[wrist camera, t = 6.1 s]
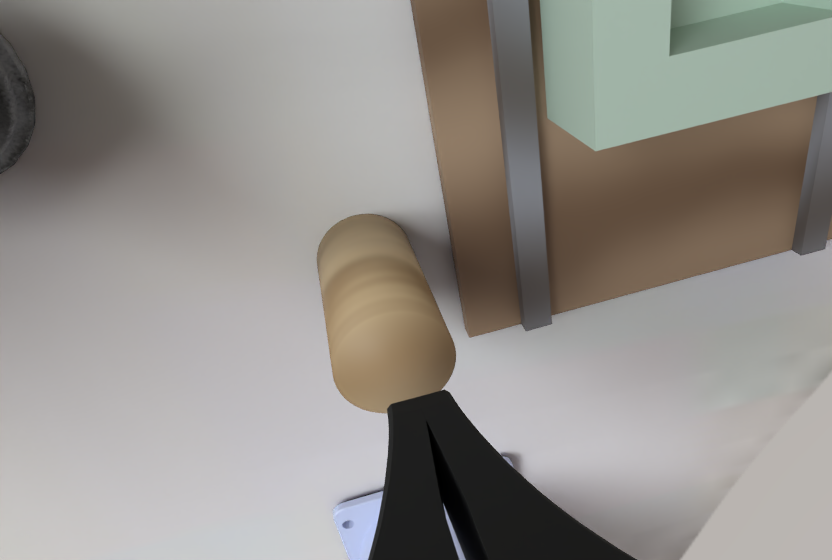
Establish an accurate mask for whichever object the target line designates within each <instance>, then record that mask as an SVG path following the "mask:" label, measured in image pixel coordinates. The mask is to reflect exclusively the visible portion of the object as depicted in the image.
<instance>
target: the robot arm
mask: <svg viewBox="0 0 832 560" xmlns="http://www.w3.org/2000/svg"><path fill="white" fill-rule="evenodd" d="M387 413H388V421H389V446H388V459H387V468H386V477H385V485H384V491H381V492H377V493H374V494H371V495H367V496H364V497H360V498H357V499H354V500H350V501H347V502H343V503H341V504H338V505H337V506H336V507H335V508H334V510H333V516H334V521H335V524H336V526H337V529H338V531H339V534H340V537H341V539H342V542H343V544H344V547H345V550H346V552H347V555H348V557H349V560H637V559H635V558H633V557H631V556H630V555H628V554H626V553H625V552H623V551H621V550H620V549H618V548H617V547H615V546H614V545H612V544H611V543H609V542H608V541H606V540H605V539H603V538H602V537H600V536H599V535H597V534H596V533H594V532H593V531H591V530H590V529H588V528H587V527H585V526H584V525H582V524H581V523H579V522H578V521H577V520H575V519H574V518H573V517H571V516H570V515H569V514H567V513H566V512H565V511H563V510H562V509H561V508H559V507H558V506H557V505H555V504H554V503H553V502H552V501H551V500H549V499H548V498H547V497H546V496H544V495H543V494H542V493H541V492H540V491H538V490H537V489H536V488H535V487H534V486H533V485H532V484H530V483H529V482H528V481H527V480H526V479H525V478H524V477H523V476H522V475H521V474H519V473H518V472H517V471H516V470H515V469H514V467H513V465H512V462H511V460H510V459H509V458H508V457H504V456H503V457H502V456H501V455H500V454H499V453H498V452H497V451H496V450H495V449H494V448H493V447H492V445H491V444H490V443H489V442H488V441H487V440H486V439H485V438H484V437H483V436H482V435H481V433H480V432H479V431H478V430H477V429H476V428H475V426H474V425H473V424H472V423H471V422H470V420H469V419H468V418H467V417H466V415H465V414H464V413H463V411H462V410H461V409H460V407H459V406H458V405H457V403H456V402H455V400H454V399H453V397H452V395H451V394H450V392H448V391H446V390H442V391H438V392H434V393H430V394H426V395H423V396H419V397H415V398H411V399H408V400H404V401H400V402H396V403H393V404H391V405H390V406H389V407H388V408H387ZM348 520H350V521H348Z"/></svg>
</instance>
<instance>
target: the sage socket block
mask: <svg viewBox="0 0 832 560" xmlns="http://www.w3.org/2000/svg"><path fill="white" fill-rule="evenodd" d="M540 12H541V28H542V43H543V59H544V75H545V90H546V106H547V118H548V119H549V120H551V121H552V122H554V123H555V124H557V125H558V126H559V127H561V128H562V129H564V130H565V131H567V132H568V133H570V134H571V135H573V136H574V137H575V138H577V139H578V140H580V141H581V142H583V143H584V144H586V145H587V146H589V147H590V148H591V149H593V150H594V151H599V150H603V149H607V148H611V147H615V146H619V145H623V144H627V143H631V142H635V141H639V140H643V139H647V138H650V137H654V136H658V135H662V134H666V133H670V132H674V131H678V130H682V129H686V128H690V127H694V126H698V125H702V124H706V123H710V122H714V121H718V120H722V119H726V118H730V117H734V116H738V115H742V114H746V113H750V112H754V111H758V110H762V109H766V108H770V107H774V106H778V105H782V104H786V103H790V102H794V101H798V100H802V99H806V98H810V97H814V96H818V95H822V94H825V93H829V92H832V0H540Z"/></svg>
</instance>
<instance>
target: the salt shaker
mask: <svg viewBox="0 0 832 560" xmlns="http://www.w3.org/2000/svg"><path fill="white" fill-rule="evenodd" d="M34 124H35V101H34V94H33V91H32V88H31V85H30V82H29V79H28V75H27V72H26V70H25V68H24V66H23V65H22V63H21V61H20V60H19V58H18V56H17V55H16V53H15V52H14V50H13V48H12V47H11V45H10V43H9V42H8V41H7V40H6V39H5V38H4V37H3V36H2V35H1V34H0V174H1V173H2V172H4V171H5V170H6V169H8V168H9V167H11V166H12V165H14V164H15V162H16V161H17V160H18V158H19V157H20V156H21V154H22V153H23V152H24V150H25V149H26V147H27V146H28V144H29V141H30V138H31V134H32V131H33V128H34Z"/></svg>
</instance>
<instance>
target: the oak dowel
mask: <svg viewBox="0 0 832 560" xmlns="http://www.w3.org/2000/svg"><path fill="white" fill-rule="evenodd" d="M317 265H318V272H319V280H320V287H321V294H322V301H323V308H324V315H325V322H326V329H327V336H328V344H329V351H330V358H331V365H332V372H333V378H334V382H335V384H336V387H337V389H338V390H339V392H340V393H341V394H342V396H343V397H344V398H345V399H346V400H348V401H349V402H350V403H352V404H353V405H355V406H357V407H359V408H361V409H364V410H367V411H371V412H376V413H387V408H388V407H389V406H390V405H391V404H393V403H396V402H400V401H404V400H408V399H411V398H415V397H419V396H423V395H426V394H430V393H434V392H438V391H440V390H441V389H442V388H443V387H444V386H445V385H446V383H447V382H448V380H449V378H450V377H451V375H452V372H453V370H454V366H455V362H456V351H455V346H454V342H453V340H452V338H451V335H450V333H449V331H448V328H447V326H446V324H445V322H444V319H443V317H442V315H441V313H440V310H439V308H438V306H437V304H436V301H435V299H434V297H433V295H432V292H431V290H430V288H429V285H428V283H427V281H426V279H425V276H424V274H423V272H422V270H421V267H420V265H419V263H418V261H417V258H416V256H415V254H414V251H413V249H412V247H411V245H410V242H409V240H408V238H407V236H406V234H405V233H404V231H403V230H402V229H401V228H400V227H399V226H398V225H397V224H396V223H394V222H393V221H391V220H390V219H387V218H385V217H382V216H379V215H374V214H360V215H355V216H351V217H348V218H346V219H344V220H342V221H340V222H338V223H337V224H335V225H334V226H333V227H332V228H331V229H330V230H329V231H328V232H327V233H326V234H325V236H324V237H323V239H322V241H321V243H320V245H319V248H318V253H317Z"/></svg>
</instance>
